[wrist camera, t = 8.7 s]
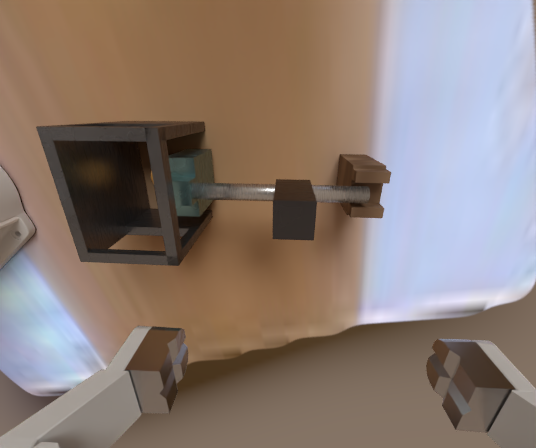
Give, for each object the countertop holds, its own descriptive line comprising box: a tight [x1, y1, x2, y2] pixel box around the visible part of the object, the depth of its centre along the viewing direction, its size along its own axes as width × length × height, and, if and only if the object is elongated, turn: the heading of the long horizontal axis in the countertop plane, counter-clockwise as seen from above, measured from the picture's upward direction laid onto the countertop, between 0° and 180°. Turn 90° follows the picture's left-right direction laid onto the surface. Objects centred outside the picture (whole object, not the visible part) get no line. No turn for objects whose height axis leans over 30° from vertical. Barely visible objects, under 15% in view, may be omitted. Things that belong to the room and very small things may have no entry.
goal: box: [36, 121, 213, 266], centre depth 27 cm, size 10×12×12 cm
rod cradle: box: [337, 154, 391, 218], centre depth 28 cm, size 3×5×8 cm, turn 0°
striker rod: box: [169, 149, 370, 240], centre depth 25 cm, size 20×6×14 cm, turn 90°
